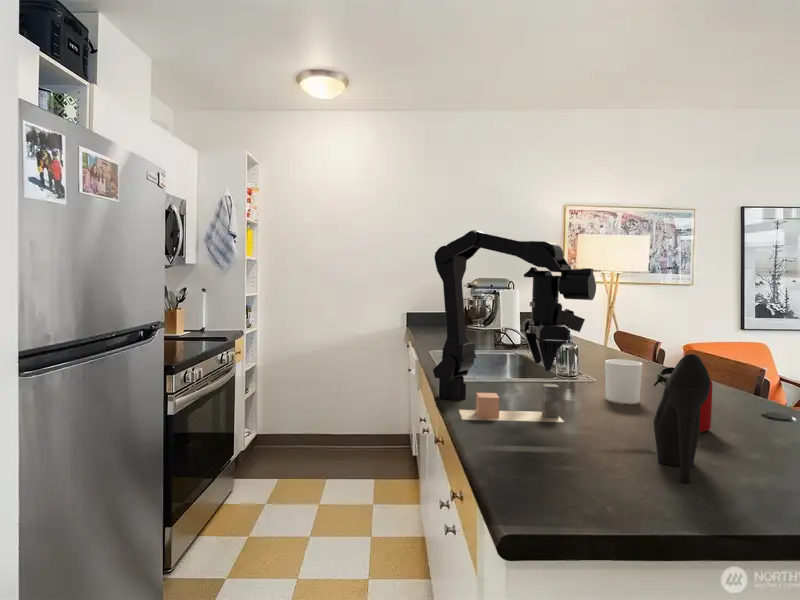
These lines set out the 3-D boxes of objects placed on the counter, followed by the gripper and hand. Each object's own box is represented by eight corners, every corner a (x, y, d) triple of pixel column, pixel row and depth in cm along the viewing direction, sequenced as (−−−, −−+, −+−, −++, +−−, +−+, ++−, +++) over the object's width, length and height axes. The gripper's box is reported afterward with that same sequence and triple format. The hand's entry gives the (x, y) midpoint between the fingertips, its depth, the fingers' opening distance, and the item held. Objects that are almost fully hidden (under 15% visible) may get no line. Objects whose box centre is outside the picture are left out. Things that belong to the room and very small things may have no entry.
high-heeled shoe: (688, 450, 90) (693, 343, 90) (718, 492, 72) (724, 358, 72) (641, 445, 93) (645, 341, 92) (658, 484, 75) (663, 354, 74)
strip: (462, 423, 106) (462, 387, 105) (458, 413, 114) (459, 379, 113) (564, 425, 105) (565, 389, 105) (554, 415, 113) (555, 382, 113)
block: (478, 417, 107) (478, 397, 107) (475, 412, 112) (476, 392, 112) (499, 418, 107) (499, 397, 107) (495, 412, 112) (496, 393, 112)
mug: (649, 404, 125) (650, 364, 125) (620, 406, 123) (621, 365, 122) (618, 394, 136) (619, 357, 136) (591, 396, 133) (592, 358, 133)
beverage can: (708, 427, 106) (710, 372, 105) (713, 435, 100) (715, 377, 99) (672, 422, 109) (674, 369, 108) (675, 430, 103) (677, 374, 102)
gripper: (596, 301, 100) (593, 376, 101) (568, 297, 119) (565, 361, 120) (541, 299, 101) (538, 374, 102) (522, 296, 119) (520, 359, 120)
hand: (542, 366), depth 111 cm, fingers open, 9 cm apart
